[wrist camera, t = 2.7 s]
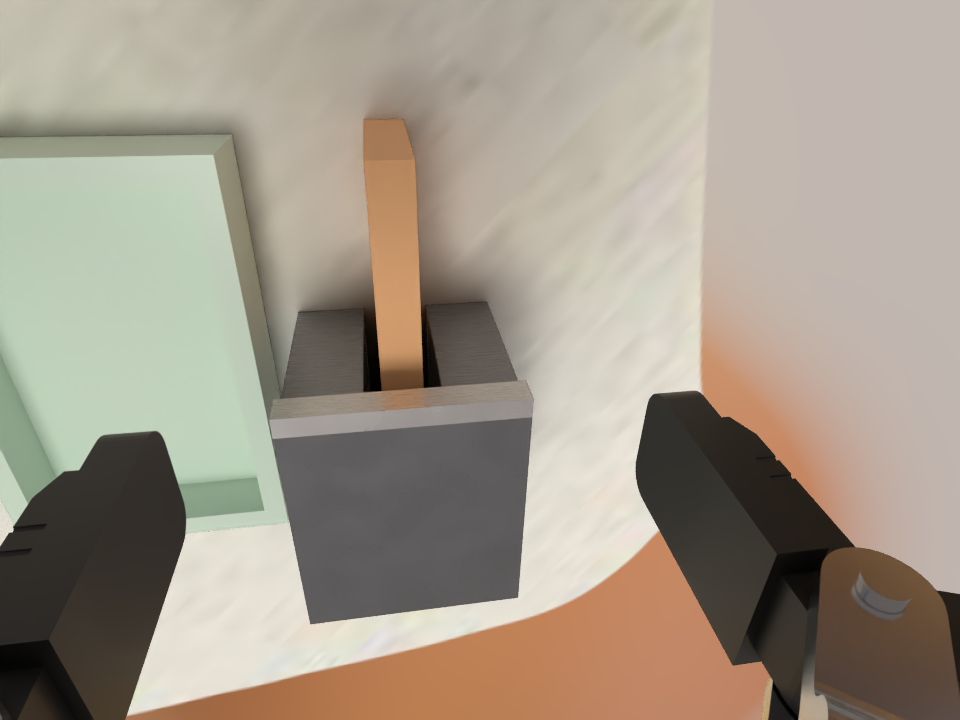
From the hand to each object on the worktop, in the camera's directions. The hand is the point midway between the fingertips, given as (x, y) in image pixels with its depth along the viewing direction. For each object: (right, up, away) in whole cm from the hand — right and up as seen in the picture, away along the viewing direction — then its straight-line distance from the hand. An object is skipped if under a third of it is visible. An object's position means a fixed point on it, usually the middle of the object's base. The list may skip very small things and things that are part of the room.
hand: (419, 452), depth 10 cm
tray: (-15, +2, +18) cm, 23 cm away
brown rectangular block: (-3, +7, +17) cm, 19 cm away
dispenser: (-3, 0, +21) cm, 22 cm away
